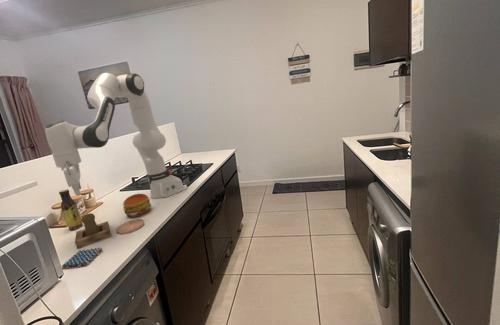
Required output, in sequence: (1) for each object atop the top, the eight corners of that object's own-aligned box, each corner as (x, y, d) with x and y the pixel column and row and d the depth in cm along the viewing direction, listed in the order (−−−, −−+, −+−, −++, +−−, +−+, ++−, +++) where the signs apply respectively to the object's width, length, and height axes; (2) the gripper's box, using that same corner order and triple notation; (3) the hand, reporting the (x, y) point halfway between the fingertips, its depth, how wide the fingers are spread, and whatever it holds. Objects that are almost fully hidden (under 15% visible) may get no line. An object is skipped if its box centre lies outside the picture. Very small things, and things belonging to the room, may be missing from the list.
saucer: (142, 218, 129) (141, 216, 128) (146, 226, 119) (145, 224, 118) (115, 227, 123) (115, 225, 123) (118, 237, 113) (117, 234, 113)
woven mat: (60, 271, 95) (58, 266, 94) (80, 254, 105) (78, 249, 104) (87, 268, 94) (85, 263, 93) (104, 251, 104) (103, 246, 103)
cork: (95, 240, 114) (87, 217, 111) (83, 241, 115) (75, 218, 112) (105, 233, 119) (97, 211, 117) (94, 233, 121) (86, 212, 118)
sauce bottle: (79, 228, 129) (66, 191, 124) (66, 231, 128) (52, 194, 124) (85, 223, 135) (73, 187, 131) (73, 225, 135) (59, 190, 130)
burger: (148, 216, 131) (142, 197, 128) (121, 221, 130) (115, 202, 128) (155, 205, 144) (150, 188, 141) (131, 210, 144) (126, 193, 141)
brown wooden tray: (109, 226, 126) (107, 221, 125) (111, 236, 115) (109, 230, 114) (78, 237, 119) (76, 231, 119) (77, 248, 108) (74, 242, 108)
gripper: (75, 161, 101) (86, 194, 104) (78, 156, 118) (87, 184, 122) (56, 166, 98) (68, 200, 101) (61, 159, 115) (71, 188, 119)
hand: (78, 191), depth 112 cm, fingers open, 8 cm apart
